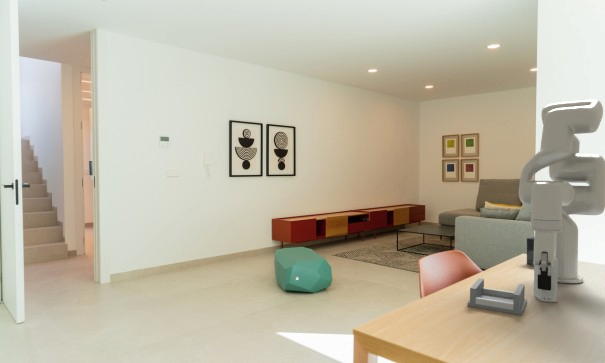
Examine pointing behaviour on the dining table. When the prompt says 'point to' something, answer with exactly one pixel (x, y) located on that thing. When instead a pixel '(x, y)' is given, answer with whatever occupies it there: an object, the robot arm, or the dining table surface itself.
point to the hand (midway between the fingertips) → (545, 285)
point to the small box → (530, 250)
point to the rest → (497, 298)
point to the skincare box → (552, 294)
